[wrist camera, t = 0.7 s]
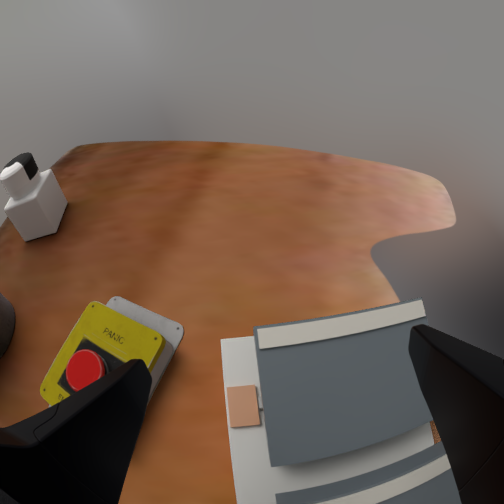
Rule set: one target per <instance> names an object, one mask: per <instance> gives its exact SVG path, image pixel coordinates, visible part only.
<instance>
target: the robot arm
mask: <svg viewBox="0 0 504 504" xmlns="http://www.w3.org/2000/svg"><path fill="white" fill-rule="evenodd" d="M408 351H409V355H410V358H411V361H412V364H413V367H414V370H415V373H416V376H417V379H418V383H419V386H420V389H421V391H422V394H423V396H424V399H425V401H426V403H427V406H428V408H429V410H430V413H431V415H432V418H433V420H434V423H435V425H436V428H437V430H438V433H439V435H440V438H441V441H442V443H443V446H444V449H445V452H446V455H447V457H448V460H449V463H450V466H451V469H452V472H453V476H454V479H455V482H456V485H457V489H458V491H459V496H460V500H461V504H504V359H502V358H500V357H498V356H496V355H493V354H491V353H489V352H487V351H484V350H482V349H480V348H478V347H475V346H473V345H471V344H468V343H466V342H464V341H462V340H459V339H457V338H455V337H452V336H450V335H448V334H445V333H443V332H441V331H439V330H436V329H434V328H432V327H429V326H427V325H425V324H419V325H415V326H413V327H412V328H411V330H410V338H409V345H408ZM151 385H152V376H151V374H150V372H149V370H148V368H147V366H146V364H145V362H144V361H143V360H142V359H131V360H129V361H127V362H126V363H124V364H123V365H121V366H119V367H118V368H116V369H114V370H113V371H111V372H109V373H108V374H106V375H104V376H103V377H101V378H99V379H98V380H96V381H94V382H92V383H91V384H89V385H87V386H86V387H84V388H82V389H81V390H79V391H77V392H75V393H74V394H72V395H70V396H69V397H67V398H65V399H63V400H62V401H60V402H58V403H56V404H55V405H53V406H51V407H49V408H47V409H45V410H44V411H42V412H40V413H38V414H36V415H34V416H31V417H29V418H27V419H25V420H23V421H21V422H18V423H16V424H14V425H12V426H9V427H5V428H0V504H118V502H119V498H120V495H121V491H122V488H123V484H124V481H125V477H126V474H127V471H128V467H129V464H130V461H131V457H132V454H133V451H134V448H135V445H136V441H137V438H138V435H139V432H140V429H141V426H142V423H143V420H144V417H145V412H146V408H147V403H148V399H149V394H150V390H151Z"/></svg>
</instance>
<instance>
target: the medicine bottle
mask: <svg viewBox="0 0 504 504" xmlns="http://www.w3.org/2000/svg"><path fill="white" fill-rule="evenodd" d="M0 180H1V182H2V184H3V186H4V188H5V189H6V191H7V193H8V195H9V196H10V197H11V198H10V199H9V201H8V203H7V205H6V206H5V208H4V211H5V213H6V214H7V216H8V217H9V219H10V220H11V222H12V223H13V225H14V226H15V228H16V229H17V231H18V232H19V234H20V235H21V236H22V238H23V239H24V241H29V240H33V239H36V238H39V237H43V236H46V235H49V234H53V233H56V232H57V229H58V226H59V224H60V221H61V218H62V216H63V213H64V211H65V208H66V206H67V200H66V198H65V196H64V194H63V192H62V190H61V188H60V186H59V184H58V182H57V180H56V178H55V176H54V174H53V172H52V170H51V169H49V170H47V171H44V172H41V173H40V171H39V169H38V167H37V165H36V163H35V161H34V158H33V156H32V154H31V153H23V154H20V155H18V156H17V157H15V158H14V159H12V160H11V161H10V162H9V163H8V164H7V165H6V166H5V167H4V168H3V170H2V172H1V174H0Z"/></svg>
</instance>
